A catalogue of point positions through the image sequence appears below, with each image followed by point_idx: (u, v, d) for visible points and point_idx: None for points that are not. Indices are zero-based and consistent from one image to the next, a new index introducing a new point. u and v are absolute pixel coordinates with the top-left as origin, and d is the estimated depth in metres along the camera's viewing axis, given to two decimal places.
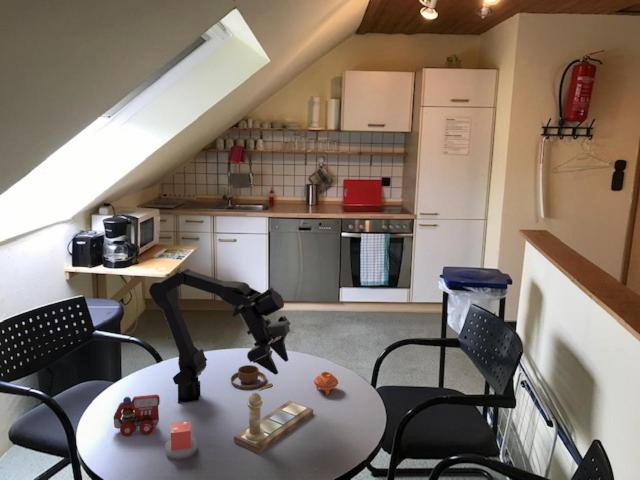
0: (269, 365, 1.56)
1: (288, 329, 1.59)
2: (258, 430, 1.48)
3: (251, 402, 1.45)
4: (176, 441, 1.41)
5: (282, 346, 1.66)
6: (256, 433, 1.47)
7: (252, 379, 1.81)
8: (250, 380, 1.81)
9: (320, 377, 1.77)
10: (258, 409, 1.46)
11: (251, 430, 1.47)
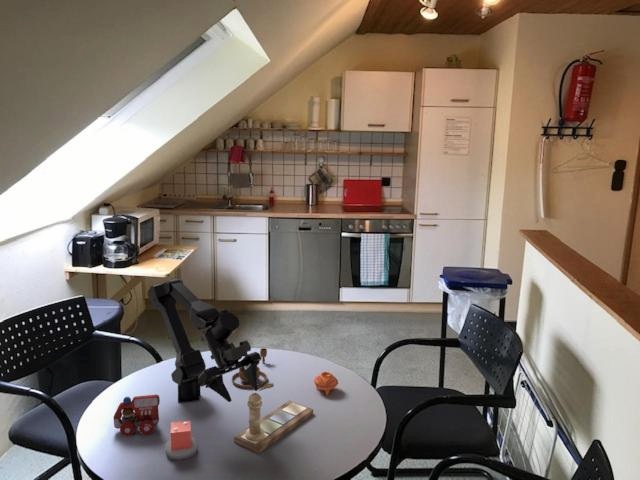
0: (221, 391, 1.47)
1: (243, 353, 1.49)
2: (258, 430, 1.48)
3: (251, 402, 1.45)
4: (176, 441, 1.41)
5: (252, 374, 1.55)
6: (256, 433, 1.47)
7: None
8: None
9: (320, 377, 1.77)
10: (258, 409, 1.46)
11: (251, 430, 1.47)
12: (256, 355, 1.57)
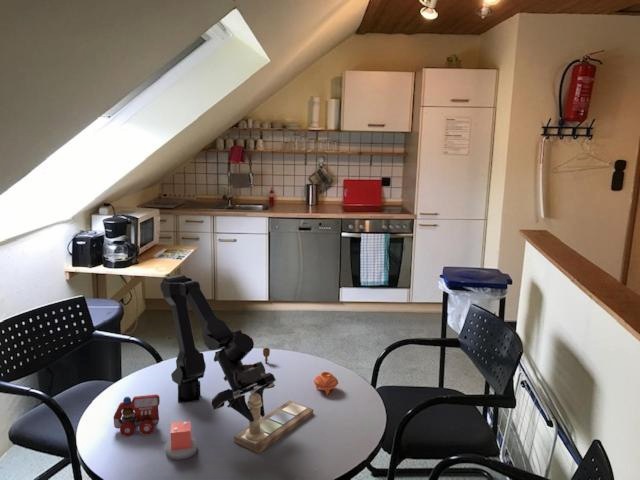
0: (243, 411, 1.46)
1: (257, 376, 1.46)
2: (258, 430, 1.48)
3: (251, 402, 1.45)
4: (176, 441, 1.41)
5: None
6: (256, 433, 1.47)
7: None
8: None
9: (320, 377, 1.77)
10: (258, 409, 1.46)
11: (251, 430, 1.47)
12: (270, 376, 1.53)
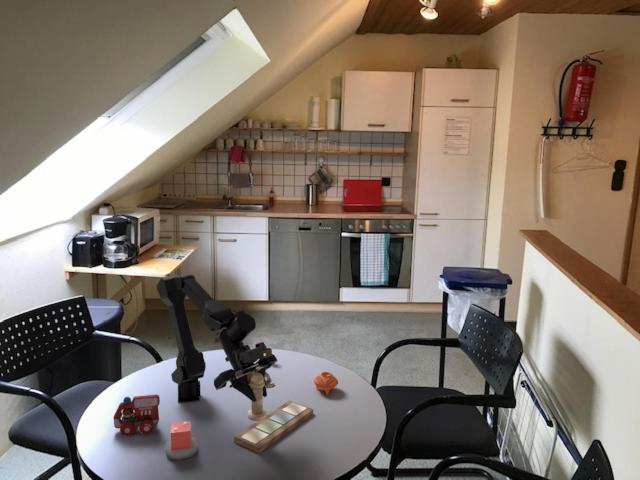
0: (245, 391, 1.45)
1: (260, 355, 1.45)
2: (260, 410, 1.47)
3: (253, 382, 1.45)
4: (176, 441, 1.41)
5: None
6: (258, 413, 1.47)
7: None
8: None
9: (320, 377, 1.77)
10: (260, 389, 1.46)
11: (253, 410, 1.47)
12: (272, 357, 1.53)
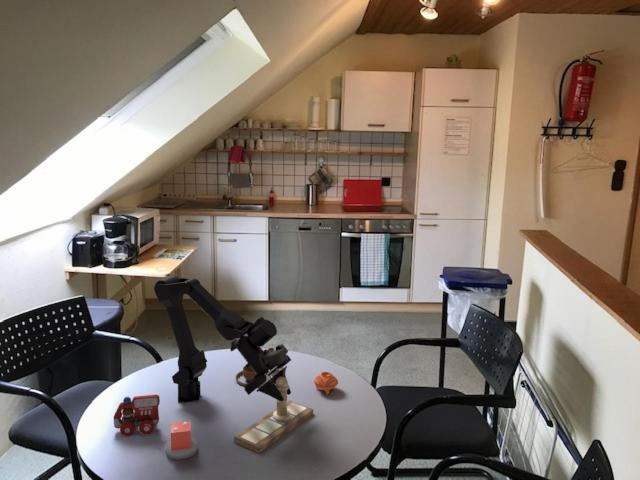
0: (273, 392, 1.54)
1: (285, 357, 1.55)
2: (286, 411, 1.58)
3: (280, 385, 1.55)
4: (176, 441, 1.41)
5: None
6: (285, 414, 1.58)
7: None
8: None
9: (320, 377, 1.77)
10: (286, 391, 1.57)
11: (280, 412, 1.57)
12: None
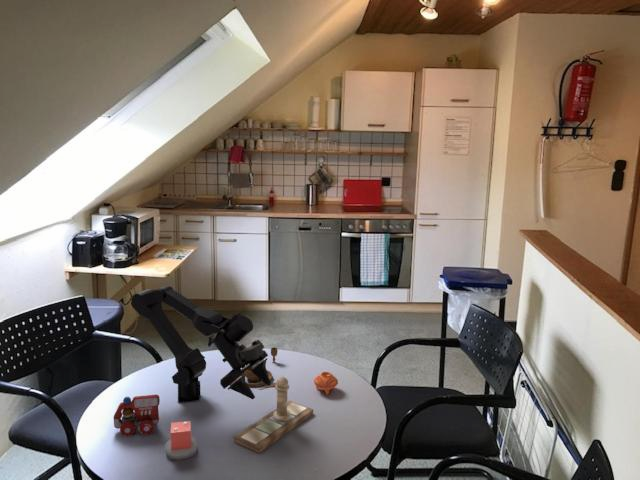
0: (244, 390, 1.55)
1: (260, 352, 1.59)
2: (286, 411, 1.58)
3: (281, 385, 1.55)
4: (176, 441, 1.41)
5: (263, 370, 1.65)
6: (285, 414, 1.58)
7: (256, 377, 1.83)
8: (254, 378, 1.82)
9: (320, 377, 1.77)
10: (286, 391, 1.57)
11: (280, 412, 1.57)
12: (263, 353, 1.67)
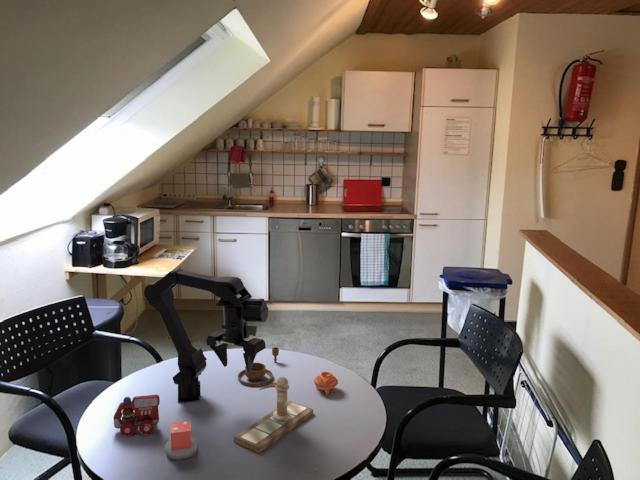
0: (251, 361, 1.61)
1: None
2: (286, 411, 1.58)
3: (281, 385, 1.55)
4: (176, 441, 1.41)
5: (225, 350, 1.68)
6: (285, 414, 1.58)
7: (257, 377, 1.83)
8: (255, 377, 1.83)
9: (320, 377, 1.77)
10: (286, 391, 1.57)
11: (280, 412, 1.57)
12: None
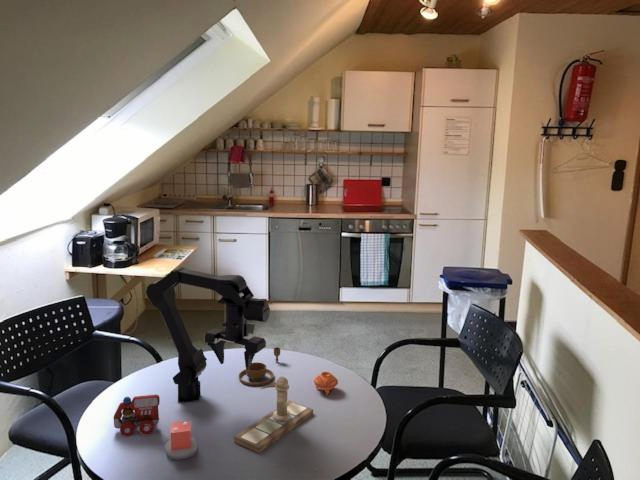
0: (251, 359, 1.62)
1: None
2: (286, 411, 1.58)
3: (281, 385, 1.55)
4: (176, 441, 1.41)
5: (222, 348, 1.67)
6: (285, 414, 1.58)
7: (258, 376, 1.83)
8: (256, 377, 1.83)
9: (320, 377, 1.77)
10: (286, 391, 1.57)
11: (280, 412, 1.57)
12: None
